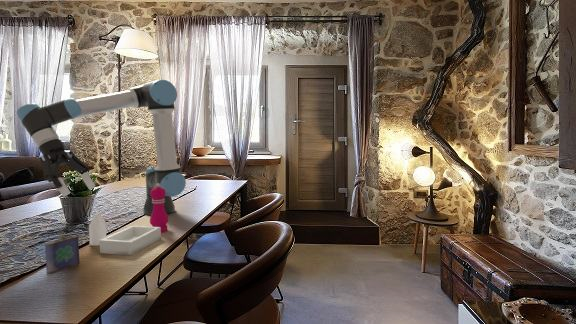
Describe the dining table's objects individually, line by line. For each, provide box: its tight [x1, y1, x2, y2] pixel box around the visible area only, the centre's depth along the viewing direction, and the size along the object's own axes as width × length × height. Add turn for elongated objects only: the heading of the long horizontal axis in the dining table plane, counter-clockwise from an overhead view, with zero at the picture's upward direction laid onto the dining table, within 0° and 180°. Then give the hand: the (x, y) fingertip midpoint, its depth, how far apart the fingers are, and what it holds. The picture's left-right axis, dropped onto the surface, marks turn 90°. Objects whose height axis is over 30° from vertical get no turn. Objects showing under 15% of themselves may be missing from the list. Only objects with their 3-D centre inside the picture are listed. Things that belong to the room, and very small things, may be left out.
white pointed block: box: [88, 211, 107, 246], centre depth 125 cm, size 6×12×6 cm
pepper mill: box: [149, 183, 169, 234], centre depth 140 cm, size 7×7×20 cm
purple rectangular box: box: [44, 232, 80, 275], centre depth 103 cm, size 9×3×11 cm, turn 151°
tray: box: [99, 225, 162, 256], centre depth 123 cm, size 18×12×4 cm, turn 170°
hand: (80, 191), depth 127 cm, fingers open, 13 cm apart
